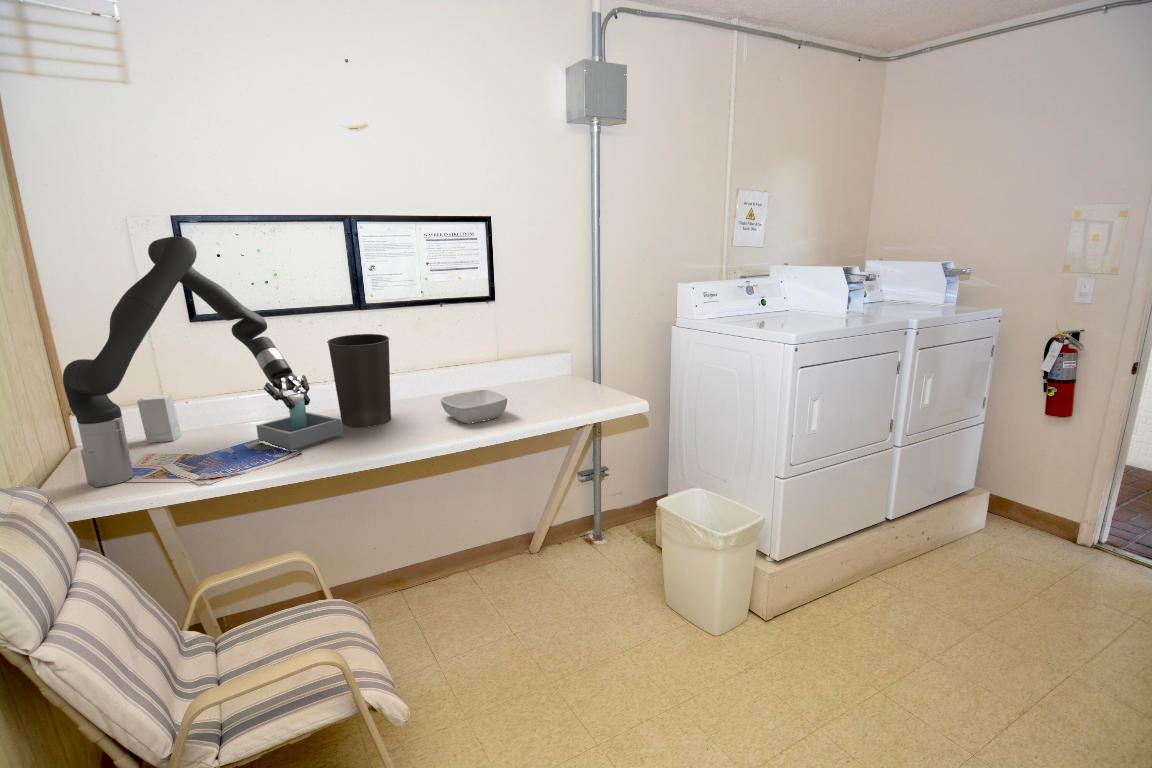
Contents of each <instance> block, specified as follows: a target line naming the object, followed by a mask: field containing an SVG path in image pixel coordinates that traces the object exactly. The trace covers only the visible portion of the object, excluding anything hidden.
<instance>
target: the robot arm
mask: <svg viewBox="0 0 1152 768" xmlns="http://www.w3.org/2000/svg"><path fill="white" fill-rule="evenodd" d="M147 248H148V249H147V254H148V257H149V258H150V261H151V262H152V263H153V264H154V265H153V266H152V268H151V269H150V270H149V271H148V272H147V273H146V274H145V275H144V276H142V277H141V278H140V279H139V280H138V281H137V282H135V283H134V284H133V285H132V286H131V287H129V288H128V290H126V292H125V293H124V294H123V295H122V296H121V298H120V299H119V301H118V302H117V303H116V305H115V307H114V308H113V309H112V312H111V313H110V314H111V315H110V318H109V333H108V338H107V340H106V343H105V345H104V346H103V347H102V349H101V350H100V352H99V353H98V354H97V356H96V357H95V358H93V359H88V358H86V359H85V358H83V359H82V358H80V359H76V360H72V361H70V363H68V364H67V365H66V367H64V370H63V373H62V384H63V389H64V392H65V395H66V399H67V402H68V406H69V409H70V411H71V413H72V414H73V415H74V417H75V418H76V422H77V427H78V432H79V437H80V440H81V445H82V449H81V450H80V454H81V459H82V463H83V468H84V472H85V476H86V481H87V484H88V485H90V486H92V487H94V488H100V487H106V486H107V487H108V486H112V485H117V484H120V483H123V482H126V481H129V480H131V479H133V478H134V476H133V475H134V468H133V466H132V459H131V454H130V450H129V446H128V439H127V434H126V430H125V425H124V420H123V415H122V410H121V408H120V406H119V405H117V403H115V402H113V401H112V400H111V399H110V397H109V396H108V395H110V394H111V393H113V392H114V391H115V390H116V389H118V387H119V386H120V384H121V383H122V381H123V379H124V377H125V375H126V372H127V370H128V368H129V366H130V364H131V361H132V359H133V357H134V355H135V353H136V352H137V350H138V348H139V347H140V345H141V343H142V342H143V340H144V338H145V337H146V336H147V333H148V332H149V330H150V329H151V327H152V326H153V324H154V323H155V321H156V319H157V318H158V316H159V315H160V313H161V311H162V309H163V308H164V306H165V304H166V303H167V301H168V300H169V298H170V296H171V294H172V293H173V291H174V290H175V288H176V286H177V285H178V284H179V283H180V284H181V285H183V286H185V287H186V288H187V289H189V290H190V291H191V292H192V293H193V294H195V295H196V296H197V297H199V298H200V299H201V300H202V301H203V302H205V303H206V304H207V305H208V306H210V308H211V309H212V310H213V311H214V312H215V313H216V314H218V316H220V317H221V318H222V319H223V320H225V321H227V322H228V321H233V320H236V319H240V318H241V319H240V320H238V321H237V322H235V323H233V325H232V326H231V330H230V331H231V333H232V335H233V337H234V338H235V339H236V340H238V341H239V342H241V344H243V345H244V346H245V347H246V348H247V349H248V350H249V351H250V352H251V353H252V356H254V358H255V360H256V362H257V364H258V367H260V369H261V371H262V372H263V373H264V375H265V377H266V378H267V380H268V381H269V382H266V383H265V385H264V386H263V390H264V391H265V392H266V393H267V394H268V395H269V396H270V397H272V398H273V400H275V401H282V402H283V403H284V405H285V407H286V408H288V410H289V409H293V407H294V404H293V402H292V401H291V399H290V398H289V396H288V391H292V392H293V394H304V401H305V406H308V405H309V404H310V403H311V398H310V397H309V395H308V392H309V391H310V389H311V388H310V385H309V382H308V379H307V377H306V375H302V376H297V375H295V374H294V372H293V370H292V368H291V367H290V365H289V364H288V362H287V360H286V359H285V358H284V356H283V355H282V353H281V352H280V351H279V350H278V349H277V347H276V345H275V344H274V342H273V341H272V340H271V338H269V336H265V335H264V336H259V335H261V334H263V333H265V332H266V331H267V328H268V323H267V321H266V320H265V318H264V317H263V316H261V315H260V314H258V313H257V312H254V311H253V310H251V309H249V308H248V307H246V306H244V305H243V304H242V303H240V302H239V300H238V299H236V298H235V297H234V296H233V295H232V294H231V293H230V292H229V291H228V290H227V289H226V288H224V287H223V286H221V285H220V284H218V283H216V282H215V281H213V280H212V279H210V278H208V277H206V276H205V275H203V274H202V273H200V272H199V271H197V270H196V269H195V268H194V267H193V265H194V264H195V262H196V260H197V248H196V245H195V244H194V242H193V241H192V240H191V239H189V238H187V237H185V236H179V235H178V236H177V235H176V236H175V235H174V236H168V237H163V238H162V237H161V238H158V239H156V240H154V241H152V242H151V243H150V244H149V246H148V247H147ZM287 396H288V397H287ZM130 478H131V479H130Z"/></svg>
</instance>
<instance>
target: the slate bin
mask: <svg viewBox="0 0 1152 768" xmlns="http://www.w3.org/2000/svg"><path fill="white" fill-rule="evenodd" d="M306 416H307V423H308V427H307V428H304V429H300V430H292V427H291V420H290V416H288V417H283V418H280V419H276V420H272V421H268V422H265V423H261V424H256V432H257V441H259V440H260V441H265V442H268V443H270V444H272V445H275V446H278V447H282V448H285V449H288V450H298V451H301V450H304V449H307V448H311V447H314V446H316V445H317V446H318V445H320V444H324V443H326V442H330V441H333V440H336V439H340V438H343V429H342V428H343V427H342V420H341V418H338V417H337V418H336V417H331V416H328V415H322V414H318V413H314V412H309V411H308V412H307V411H306Z"/></svg>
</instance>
